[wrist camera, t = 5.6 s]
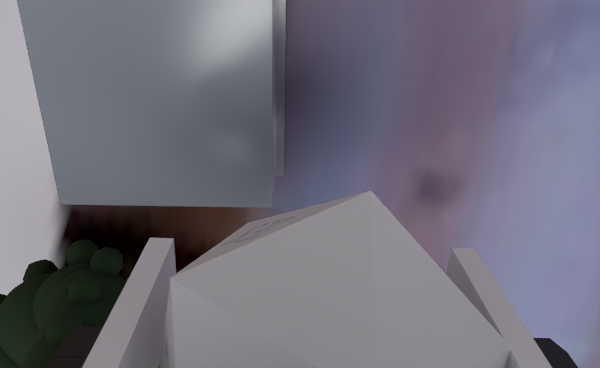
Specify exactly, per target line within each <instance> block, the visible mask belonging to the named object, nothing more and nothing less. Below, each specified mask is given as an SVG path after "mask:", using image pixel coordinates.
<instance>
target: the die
mask: <svg viewBox="0 0 600 368" xmlns="http://www.w3.org/2000/svg"><path fill="white" fill-rule="evenodd" d="M511 348H512V347H511V346H510V345H509V344H508V343H507V342H506V341H505V340H504V339H503V337H502V336H501V335H500V334H499V333H498V332H497V331H496V330H495V328H494V327H493V326H492V325H491V324H490V323H489V322H488V321H487V320H486V318H485V317H484V316H483V315H482V314H481V313H480V312H479V311H478V310H477V308H476V307H475V306H474V305H473V304H472V303H471V302H470V301H469V299H468V298H467V297H466V296H465V295H464V294H463V293H462V292H461V291H460V289H459V288H458V287H457V286H456V285H455V284H454V283H453V282H452V280H451V279H450V278H449V277H448V276H447V275H446V274H445V273H444V272H443V270H442V269H441V268H440V267H439V266H438V265H437V264H436V263H435V262H434V260H433V259H432V258H431V257H430V256H429V255H428V254H427V253H426V251H425V250H424V249H423V248H422V247H421V246H420V245H419V244H418V243H417V241H416V240H415V239H414V238H413V237H412V236H411V235H410V234H409V232H408V231H407V230H406V229H405V228H404V227H403V226H402V225H401V224H400V222H399V221H398V220H397V219H396V218H395V217H394V216H393V215H392V214H391V212H390V211H389V210H388V209H387V208H386V207H385V206H384V205H383V203H382V202H381V201H380V200H379V199H378V198H377V197H376V196H375V195H374V193H373V192H372V191H371V190H370V191H366V192H363V193H359V194H355V195H351V196H347V197H344V198H340V199H336V200H332V201H328V202H324V203H321V204H317V205H313V206H309V207H305V208H302V209H298V210H294V211H290V212H286V213H283V214H279V215H275V216H271V217H267V218H263V219H260V220H256V221H252V222H248V223H247V224H246V225H244V226H243V227H241V228H240V229H239V230H237V231H236V232H234V233H233V234H231V235H230V236H229V237H227V238H226V239H224V240H223V241H222V242H220V243H219V244H217V245H216V246H214V247H213V248H212V249H210V250H209V251H207V252H206V253H205V254H203V255H202V256H200V257H199V258H198V259H196V260H195V261H193V262H192V263H190V264H189V265H188V266H186V267H185V268H183V269H182V270H181V271H179V272H178V273H176V274H175V275H173V276H172V277H171V278H170V286H169V294H168V302H167V310H166V319H165V327H164V335H163V343H162V352H161V360H160V368H505V366H506V363H507V360H508V358H509V355H510V350H511Z"/></svg>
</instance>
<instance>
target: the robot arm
mask: <svg viewBox="0 0 600 368" xmlns="http://www.w3.org/2000/svg"><path fill="white" fill-rule="evenodd" d="M175 274H176V264H175V250H174V238H149V240H148V242H147V244H146V246H145V248H144V250H143V252H142V254H141V255H140V257H139V259H138V261H137V263H136V265H135V267H134V269H133V271H132V273H131V275H130V277H129V278H128V280H127V282H126V284H125V286H124V288H123V290H122V292H121V294H120V296H119V298H118V300H117V302H116V303H115V305H114V307H113V309H112V311H111V313H110V315H109V317H108V319H107V321H106V323H105V325H104V326H103V327H78V328H77V329H76V330H74V331H73V332H72V333H71V334H70V335H68V336H67V337H66V338H65V339H64V340H62V342H61V344H60V345H59V347H58V349H57V350H56V352H55V354H54V355H53V359H52V360H50V362H49V363H48V365H47V367H46V368H158V367H159V364H160V360H161V352H162V343H163V335H164V327H165V319H166V310H167V302H168V294H169V286H170V278H171V277H172V276H173V275H175ZM446 275H447V276H448V277H449V278H450V279H451V280H452V282H453V283H454V284H455V285H456V286H457V287H458V288H459V289H460V291H461V292H462V293H463V294H464V295H465V296H466V297H467V298H468V299H469V301H470V302H471V303H472V304H473V305H474V306H475V307H476V308H477V310H478V311H479V312H480V313H481V314H482V315H483V316H484V317H485V318H486V320H487V321H488V322H489V323H490V324H491V325H492V326H493V327H494V328H495V330H496V331H497V332H498V333H499V334H500V335H501V336H502V337H503V339H504V340H505V341H506V342H507V343H508V344H509V345H510V346H511V347H512V348H511V350H510V355H509V358H508V360H507V363H506V366H505V368H578V367H577V366H576V364H575V363H574V361H573V360H572V359H571V357H570V356H569V354H568V353H567V352H566V351H565V350H563V349H562V348H561V347H560V346H559V345H557V344H556V343H555V342H554V341H552V340H551V339H550V338H533V337H532V336H531V334H530V333H529V331H528V330H527V328H526V327H525V325H524V324H523V322H522V320H521V319H520V317H519V316H518V314H517V313H516V311H515V310H514V308H513V307H512V305H511V304H510V302H509V301H508V299H507V297H506V296H505V294H504V293H503V291H502V290H501V288H500V287H499V285H498V284H497V282H496V281H495V279H494V278H493V276H492V274H491V273H490V271H489V270H488V268H487V267H486V265H485V264H484V262H483V261H482V259H481V258H480V256H479V255H478V253H477V251H476V250H475V249H469V248H452V250H451V254H450V259H449V264H448V268H447V273H446Z"/></svg>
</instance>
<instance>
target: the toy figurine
mask: <svg viewBox="0 0 600 368" xmlns="http://www.w3.org/2000/svg"><path fill="white" fill-rule="evenodd" d="M66 262H67V264H68V265H69V266H66V267H64V268H62V269H59V270H58V268H57V267H56V266H55V265H54V263H53V262H51V261H48V260H40V261H36V262H34V263H31V264H29V265H28V268H27V270H26V272H25V275H24V278H23V281H24V282H23V283H22V284H20V285H18V286H17V287H15V288H14V289H13V290H12V291H11V292H10V293H9V294H8V295H7V296H6V295H2V294H0V368H46V367H47V365H48V363H49V362H50V360H52V359H53V355H54V354H55V352H56V350H57V349H58V347H59V345H60V344H61V342H62V340H64V339H65V338H66V337H67V336H68V335H70V334H71V333H72V332H73V331H74V330H76V329H77V328H78V327H103V326H104V325H105V323H106V321H107V319H108V317H109V315H110V313H111V311H112V309H113V307H114V305H115V303H116V302H117V300H118V298H119V296H120V294H121V292H122V290H123V288H124V286H125V284H126V282H127V280H128V278H125V279H124V278H123V277H121V276H120V275H118V274H119V272H120V271H121V269H122V267H123V255H122V254H121V253H120V252H119V251H118V250H117V249H114V248H108V247H104V248H102V249H100V250H99V248H98V247H97V246H96V245H95V244H94V243H93V242H92V241H90V240H86V239H83V240H79V241H76V242H74V243H72V244H71V245H70V247H69V248H68V249H67V250H66Z"/></svg>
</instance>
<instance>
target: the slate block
mask: <svg viewBox="0 0 600 368" xmlns="http://www.w3.org/2000/svg"><path fill="white" fill-rule="evenodd" d="M17 3H18V7H19V12H20V17H21V22H22V26H23V31H24V35H25V40H26V45H27V50H28V55H29V59H30V64H31V69H32V73H33V78H34V83H35V87H36V92H37V96H38V101H39V106H40V111H41V115H42V120H43V125H44V129H45V134H46V139H47V144H48V148H49V152H50V157H51V162H52V167H53V172H54V176H55V181H56V186H57V190H58V195H59V200H60V204H67V205H130V206H193V207H256V208H273V197H274V186H275V176H284V153H285V50H286V0H17Z"/></svg>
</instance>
